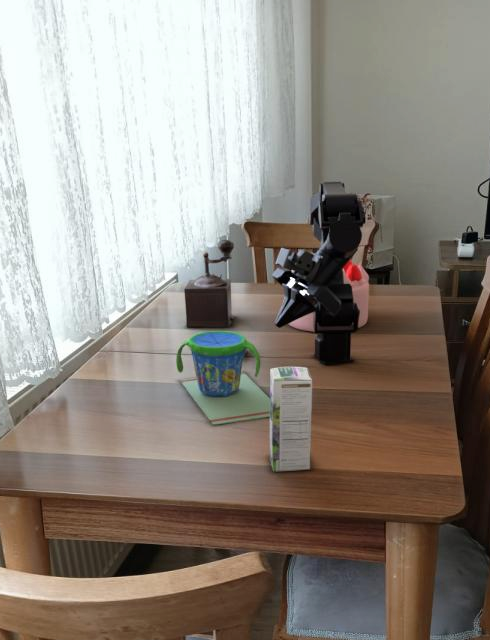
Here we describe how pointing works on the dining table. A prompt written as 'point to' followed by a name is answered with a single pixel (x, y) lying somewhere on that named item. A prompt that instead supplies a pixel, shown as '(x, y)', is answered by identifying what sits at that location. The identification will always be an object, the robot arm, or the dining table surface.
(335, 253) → the robot arm
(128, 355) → the dining table surface
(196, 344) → the snack cup
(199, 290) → the manual coffee grinder
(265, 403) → the green flat piece
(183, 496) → the dining table surface
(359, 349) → the dining table surface
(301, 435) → the syrup box
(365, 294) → the cake
